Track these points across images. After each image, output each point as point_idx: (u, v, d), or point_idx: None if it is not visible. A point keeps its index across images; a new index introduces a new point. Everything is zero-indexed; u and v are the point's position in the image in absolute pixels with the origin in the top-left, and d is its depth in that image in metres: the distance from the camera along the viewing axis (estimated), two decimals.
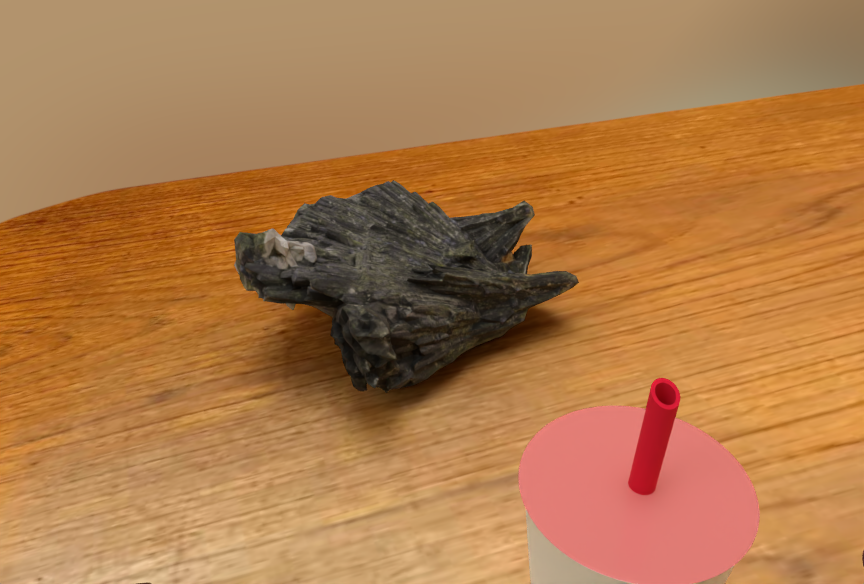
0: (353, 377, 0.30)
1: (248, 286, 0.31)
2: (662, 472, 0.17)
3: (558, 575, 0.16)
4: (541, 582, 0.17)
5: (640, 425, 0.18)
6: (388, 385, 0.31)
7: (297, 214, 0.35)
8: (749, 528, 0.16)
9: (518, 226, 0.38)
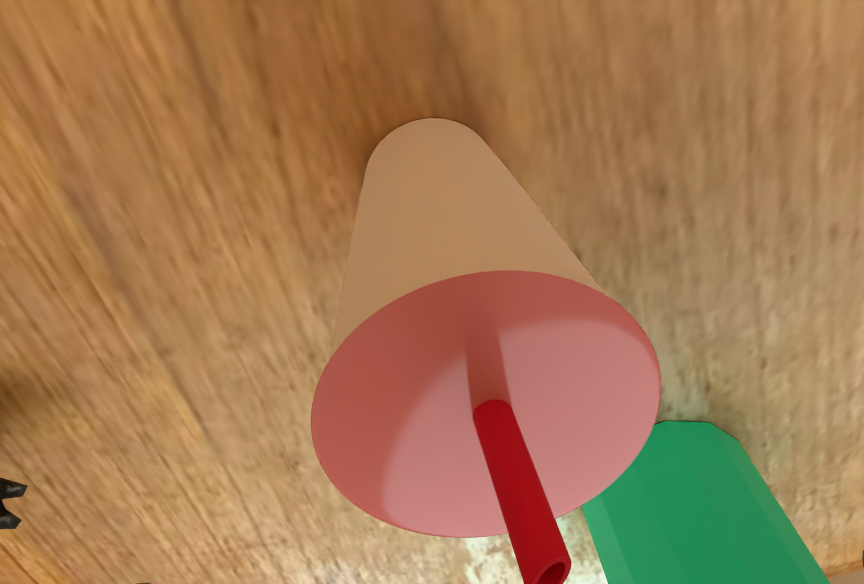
0: None
1: None
2: (472, 384, 0.11)
3: None
4: None
5: (363, 391, 0.11)
6: None
7: None
8: (600, 305, 0.10)
9: None
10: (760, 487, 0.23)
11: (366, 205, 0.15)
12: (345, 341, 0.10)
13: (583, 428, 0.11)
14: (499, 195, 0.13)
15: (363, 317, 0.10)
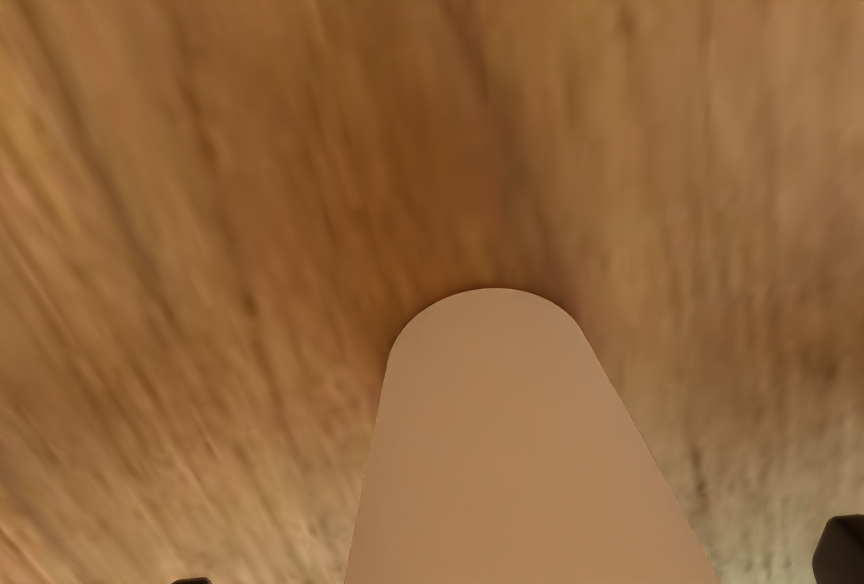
0: None
1: None
2: None
3: None
4: None
5: None
6: None
7: None
8: None
9: None
10: None
11: (376, 500, 0.08)
12: None
13: None
14: (632, 569, 0.06)
15: None
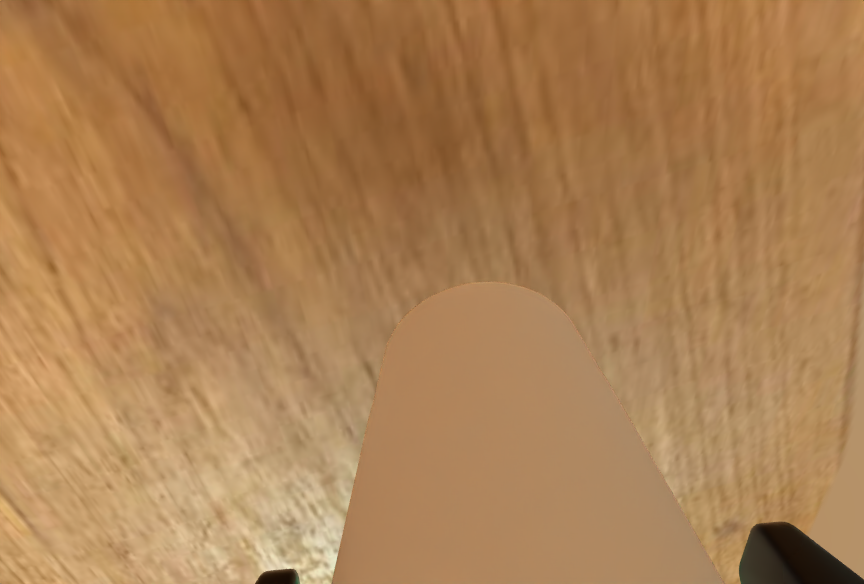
0: None
1: None
2: None
3: None
4: None
5: None
6: None
7: None
8: None
9: None
10: None
11: (369, 476, 0.08)
12: None
13: None
14: (614, 528, 0.07)
15: None
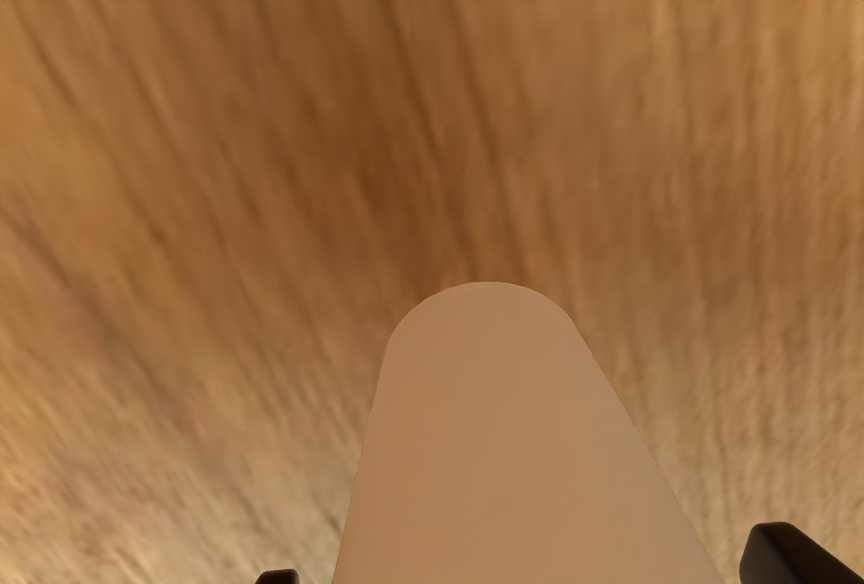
0: None
1: None
2: None
3: None
4: None
5: None
6: None
7: None
8: None
9: None
10: None
11: (369, 476, 0.08)
12: None
13: None
14: (615, 528, 0.07)
15: None
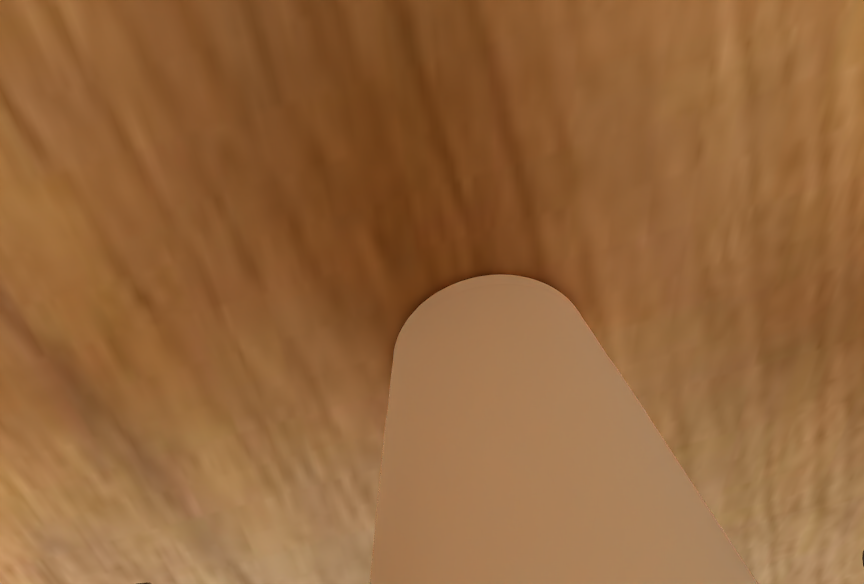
0: None
1: None
2: None
3: None
4: None
5: None
6: None
7: None
8: None
9: None
10: None
11: (401, 477, 0.09)
12: None
13: None
14: (651, 525, 0.07)
15: None
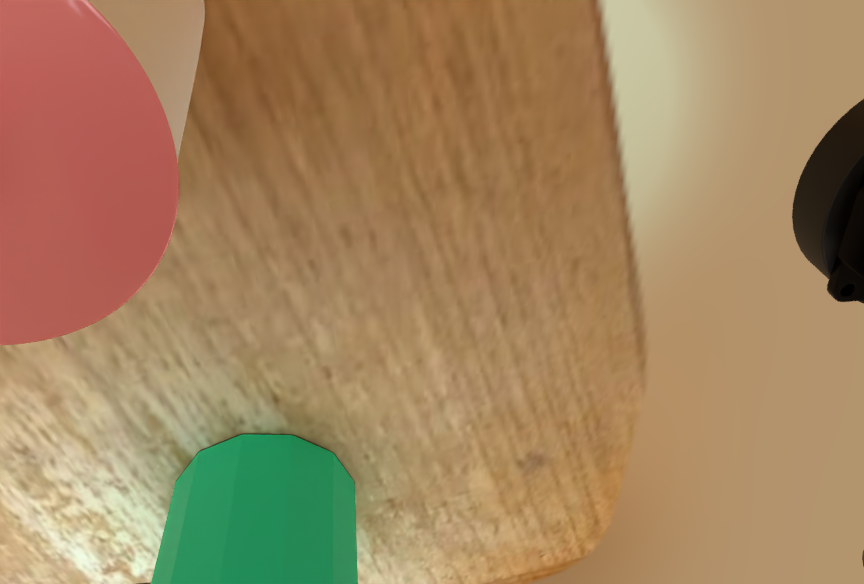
0: None
1: None
2: None
3: None
4: None
5: None
6: None
7: None
8: None
9: None
10: (314, 504, 0.21)
11: None
12: None
13: (77, 171, 0.09)
14: None
15: None
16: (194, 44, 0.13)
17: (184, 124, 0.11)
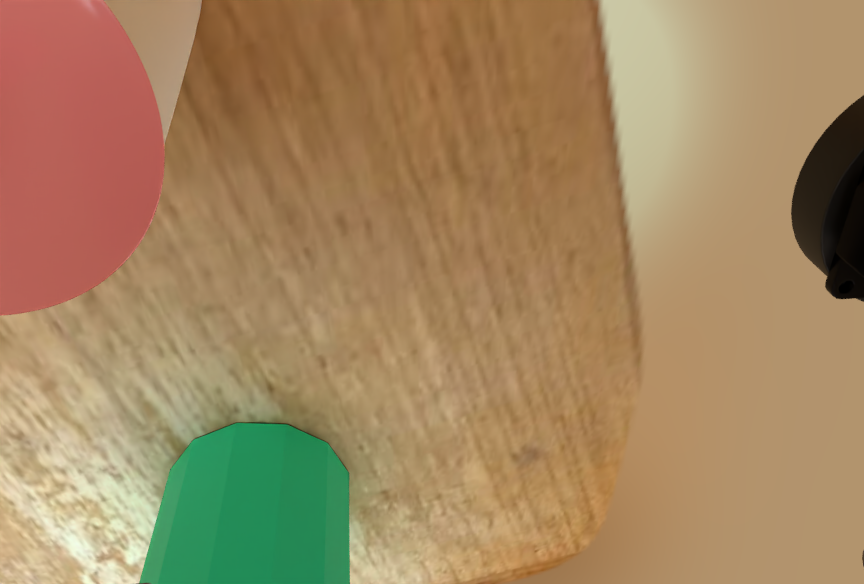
0: None
1: None
2: None
3: None
4: None
5: None
6: None
7: None
8: None
9: None
10: (307, 493, 0.21)
11: None
12: None
13: (63, 140, 0.09)
14: None
15: None
16: (188, 24, 0.13)
17: (174, 101, 0.11)
